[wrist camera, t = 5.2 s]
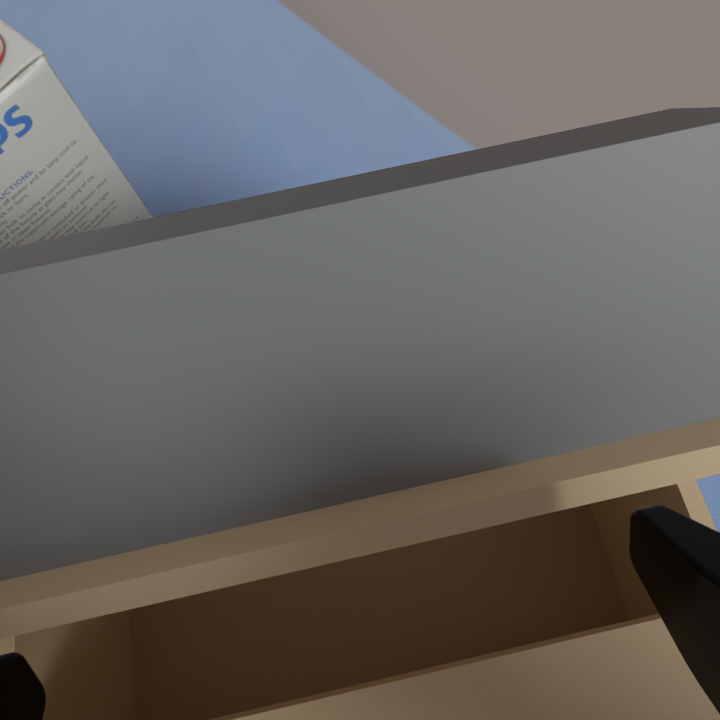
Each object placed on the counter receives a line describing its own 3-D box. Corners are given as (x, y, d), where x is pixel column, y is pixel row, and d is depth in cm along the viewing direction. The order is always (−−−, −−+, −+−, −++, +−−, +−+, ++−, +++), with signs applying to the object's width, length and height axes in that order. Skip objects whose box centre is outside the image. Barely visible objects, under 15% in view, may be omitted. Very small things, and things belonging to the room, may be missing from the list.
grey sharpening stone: (847, 444, 10) (917, 88, 7) (-207, 686, 9) (-478, 384, 7) (631, 318, 16) (633, 102, 14) (-8, 459, 15) (-117, 259, 13)
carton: (703, 802, 18) (914, 968, 11) (143, 940, 17) (-28, 1210, 10) (558, 388, 22) (639, 311, 15) (112, 488, 22) (-21, 456, 15)
